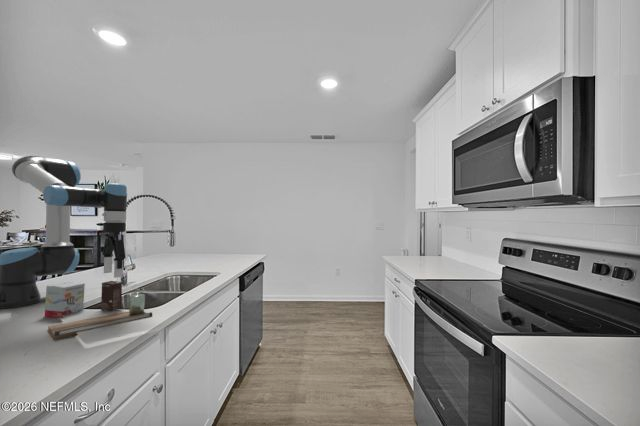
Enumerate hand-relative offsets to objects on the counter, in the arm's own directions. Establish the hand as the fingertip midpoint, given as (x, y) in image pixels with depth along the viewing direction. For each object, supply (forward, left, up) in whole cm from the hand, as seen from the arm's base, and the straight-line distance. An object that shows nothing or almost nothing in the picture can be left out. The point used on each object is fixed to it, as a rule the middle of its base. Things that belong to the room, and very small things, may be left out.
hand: (112, 274), depth 122 cm
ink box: (-9, -13, -15) cm, 22 cm away
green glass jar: (+13, +5, -14) cm, 19 cm away
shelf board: (+14, -6, -15) cm, 21 cm away
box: (0, 0, -15) cm, 15 cm away
